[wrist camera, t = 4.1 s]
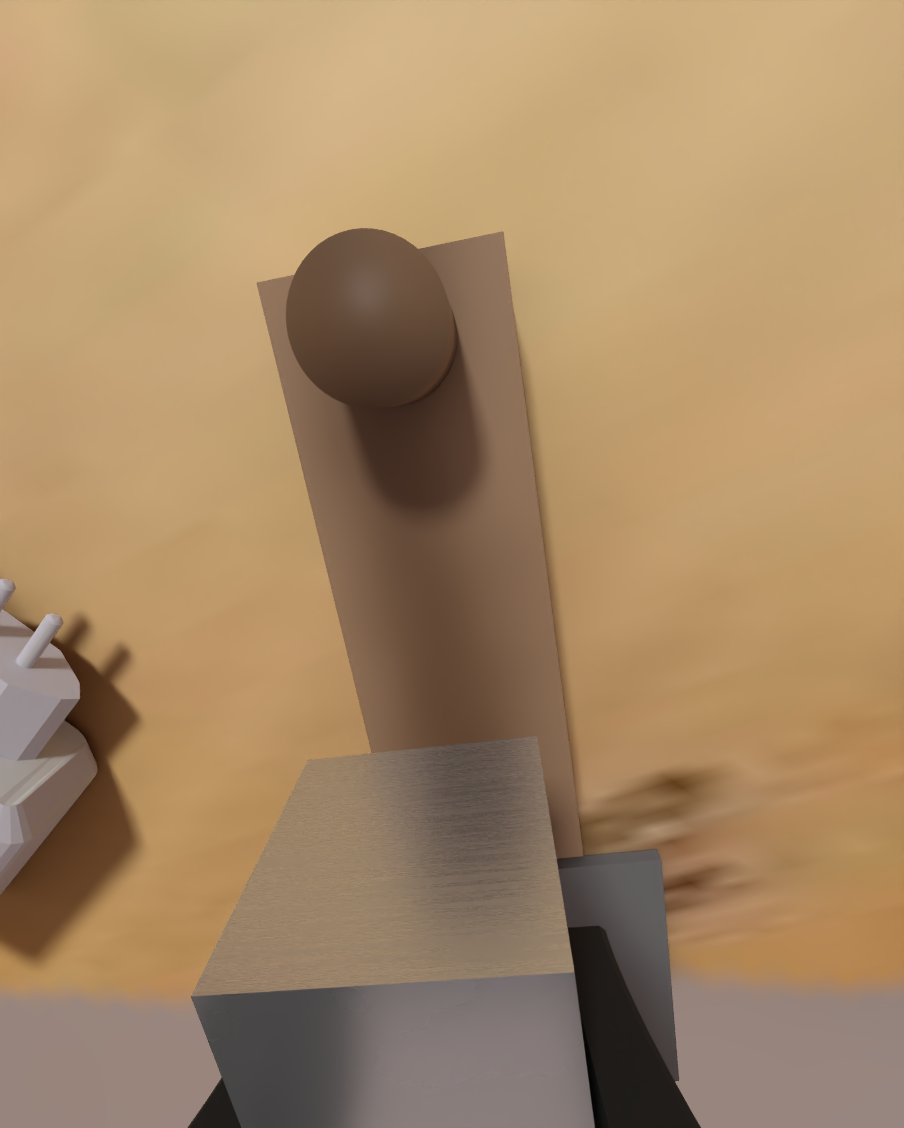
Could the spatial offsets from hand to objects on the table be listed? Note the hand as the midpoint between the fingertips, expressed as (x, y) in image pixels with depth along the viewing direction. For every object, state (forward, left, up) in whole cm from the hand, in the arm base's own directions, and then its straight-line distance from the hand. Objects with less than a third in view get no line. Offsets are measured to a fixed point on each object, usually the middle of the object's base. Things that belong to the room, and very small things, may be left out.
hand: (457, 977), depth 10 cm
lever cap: (0, 0, -1) cm, 1 cm away
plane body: (0, -4, -10) cm, 11 cm away
